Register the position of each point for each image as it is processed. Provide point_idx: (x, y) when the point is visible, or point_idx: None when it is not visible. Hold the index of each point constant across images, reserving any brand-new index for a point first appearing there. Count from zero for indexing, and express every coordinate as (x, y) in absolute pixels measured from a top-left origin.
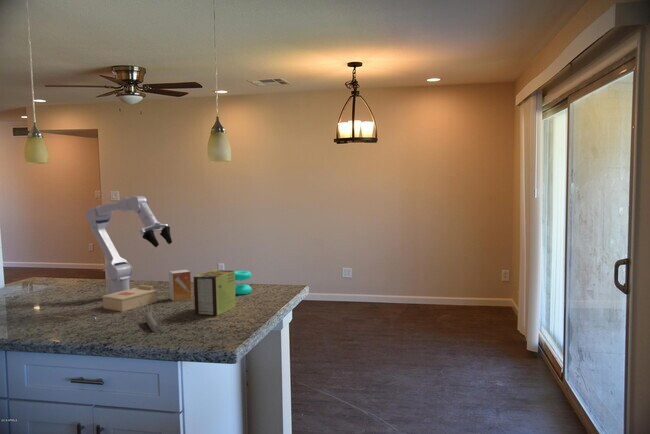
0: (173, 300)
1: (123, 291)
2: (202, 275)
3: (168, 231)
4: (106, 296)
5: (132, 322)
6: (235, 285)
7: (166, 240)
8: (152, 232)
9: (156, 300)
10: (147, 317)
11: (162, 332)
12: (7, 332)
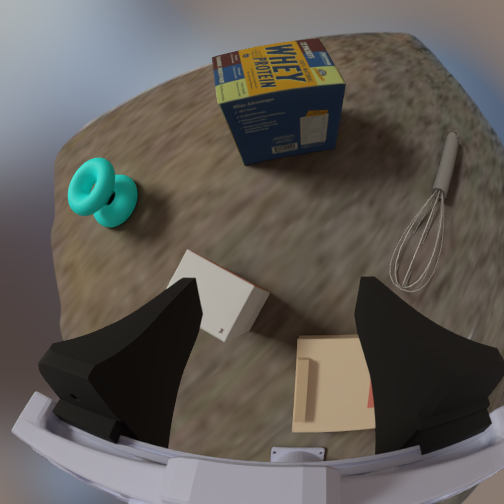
0: (268, 294)
1: (361, 421)
2: (321, 68)
3: (119, 332)
4: None
5: (453, 227)
6: (109, 209)
7: (188, 346)
8: (444, 350)
9: (300, 336)
10: (450, 175)
11: (444, 127)
12: None
